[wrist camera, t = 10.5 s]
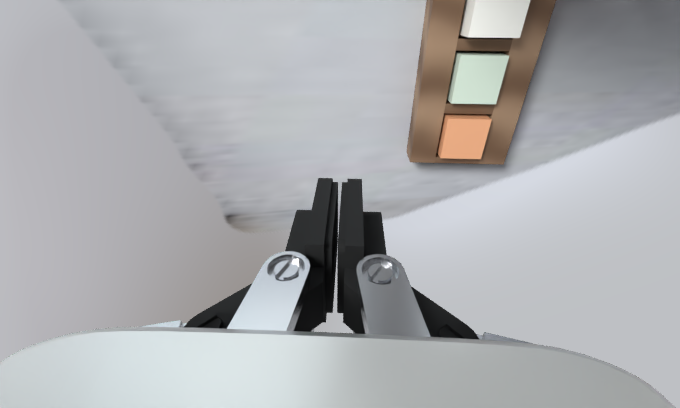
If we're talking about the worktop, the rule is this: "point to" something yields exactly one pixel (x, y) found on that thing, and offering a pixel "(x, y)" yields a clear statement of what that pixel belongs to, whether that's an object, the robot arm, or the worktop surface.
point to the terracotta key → (463, 136)
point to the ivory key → (493, 18)
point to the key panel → (436, 75)
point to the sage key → (476, 77)
